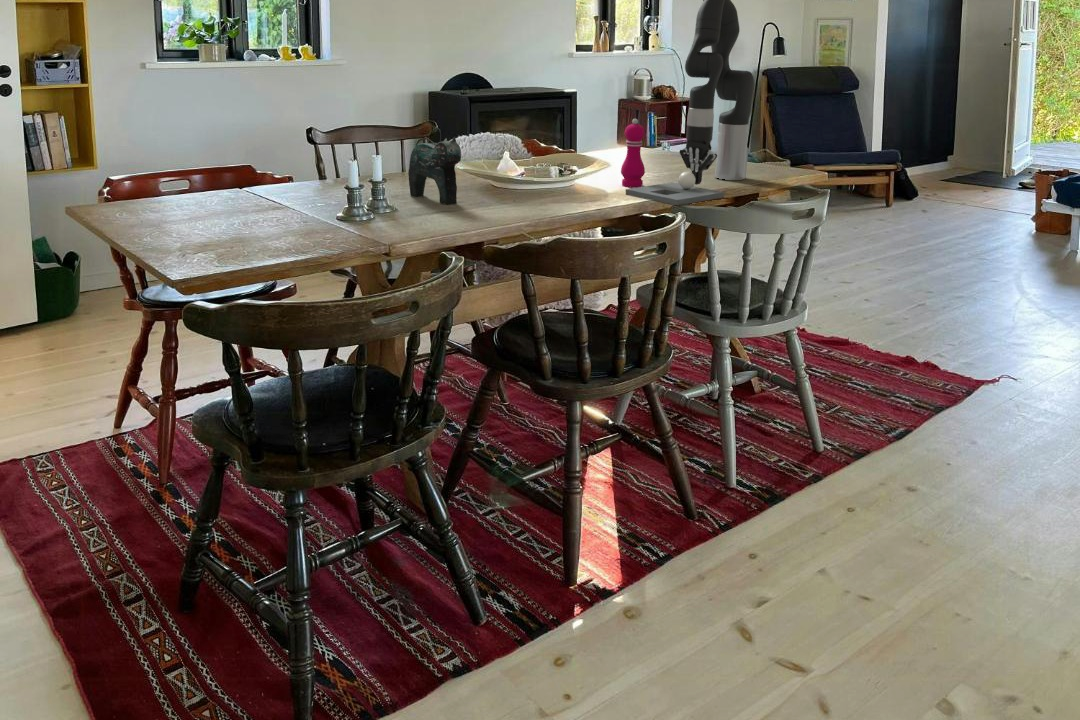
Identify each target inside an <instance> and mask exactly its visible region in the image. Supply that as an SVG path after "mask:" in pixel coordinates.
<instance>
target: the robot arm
mask: <svg viewBox="0 0 1080 720" xmlns="http://www.w3.org/2000/svg"><path fill="white" fill-rule="evenodd" d="M695 21H696V22H695V30H694V38H693V41H692V44H691V47H690V50H689V52H688V55H687V58H686V60H685V65H684V69H685V74H687V76H688V77H690V78H697V79H700V78H703V79H709V80H708V81H707V83H705V84H702V85H697V86H693V87H692V88H690V91H689V102H688V103H689V104H688V111H687V112H688V113H687V117H686V118H687V121H686V136H685V139H686V141H687V142H686V144H685V147H684V148H682V149H680V150H679V155H680V157H681V159H682V160H683V163H684V165H685V167H686V168H687V169H689V170H691V171H690V172H691V173H692V174H693V175H694V176H695V179H696V181H695V184H694V185H696V186H697V185H700V184H701V183H702V180H703V171H706V170H708V169H710V167H711V166H712V165H713V163H714V162H715V171H714V178H715V177H716V178H715V179H717V178H719V179H718V180H722V179H725V180H724V181H742V180H745V179H746V178H747V171H748V169H747V168H748V155H749V147H748V145H747V144H748V137H749V136H748V135H749V134H748V133H749V122H750V121H749V120H750V116H751V113H752V103H753V96H754V89H755V78H754V75H753V72H751V71H749V70H739V69H738V70H737V69H732V68H731V67H730V66H731V65H730V60H729V59H730V54H731V52H732V49H733V48H734V46H735V44H736V42H737V40H738V37H739V35H740V23H739V22H740V21H739V17H738V11H737V8H736V6H735V4H734V3H733V1H732V0H702V3H701V5H700V7H699V9H698V11H697V14H696V20H695ZM707 47H711V52H709V51H708V52H706V51H705V52H704V51H702V50H703V49H705V48H707ZM716 94H717V97H718V98H719V100H723V101H730V102H731V101H733V102H735V104H734V107H733V108H731V109H730V110H726V111H723V112H721V113H720V114H719V115H718V116H719V117H718V126H717V127H718V128H717V129H718V130H717V140H716V141H717V145H716V153H714V152H713V151H712V144H711V142H712V140H713V133H714V118H715V114H714V105H715V104H714V103H715V97H716V96H715V95H716Z"/></svg>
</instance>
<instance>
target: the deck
mask: <svg viewBox="0 0 1080 720" xmlns="http://www.w3.org/2000/svg"><path fill="white" fill-rule="evenodd" d="M625 195H627V196H630V197H631V196H632V197H636V198H641V199H644V200H645V199H646V200H650V201H655V202H660V203H665V204H670V205H674V206H682V205H687V204H693V203H697V202H699V203H700V202H705V201H711V200H716V199H722V198H724V196H725V192H724V191H720V190H715V189H710V188H703V187H700V186H693V187H692V188H690V189H684V188H682V187H681V186H680V185H679V183H678V182H674V181H673V182H671V181H670V182H666V183H660V184H659V183H658V184H653V185H646V186H642V187H630V188H626V189H625Z"/></svg>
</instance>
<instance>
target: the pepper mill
mask: <svg viewBox="0 0 1080 720" xmlns="http://www.w3.org/2000/svg"><path fill="white" fill-rule="evenodd" d="M645 134H646V132H645V129H644V126H642V125H641V124H639V120H638V119H637V118H633V119H632V121H631V124H629V125H627V126H626V127H625V130H624V137H625V138H626V140H625V146H626V148H627V149H626V155H625V159H624V160H623V163H622V165H621V167H620V168H621V169H620V174H621V175H622V177H623V178H622V180H621V185H622V186H623V187H625V188H638V187H644V186H643V184H644V182H643V179H642V177H644V176H645V174H646V171H645V169H646V168H645V164H644V162H643V159H642V155H641V147H642V146H643V142H644V141H643V138H644V137H645Z"/></svg>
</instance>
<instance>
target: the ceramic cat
mask: <svg viewBox="0 0 1080 720" xmlns="http://www.w3.org/2000/svg"><path fill="white" fill-rule="evenodd" d="M436 130H437V131H438V132H439V137H440V138H439V142H434V141H432V140H431V139H430V138H428V137H422V138H420V139H418V141H417V142H416V143H415V145H414V147H413V149H412V150H411V153H410V157H409V163H408V164H409V165H408V166H409V167H408V171H407V173H408V184H409V185H408V186H409V193H410V196H412V197H415V198H418V197H423V196H424V193H425V188H426V181H427V178H428V179H432V180H433V181H435V183H436V184H435V185H436V186H437V189H438V194H439V203H440V205H441V204H442V205H446V206H448V205H449V206H450V205H456V204H457V202H458V201H457V199H458V197H457V190H458V186H457V173H456V170H455V165H456V164H459V163H460V162H461V158H462V150H461V147H460V145H459V144H458V142H457V138H456V137H455V136H454V137H453V138H452V139H451V140H448V139H447V138H445V139H444V140H443V141H442V133H441V132H442V131H441V129H440V128H439V127H435V128H434V130H433V131H432V132H433V133H435V131H436ZM425 140H428V141H429V142H425V143H424V142H423V143H420V142H421V141H425Z"/></svg>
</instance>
